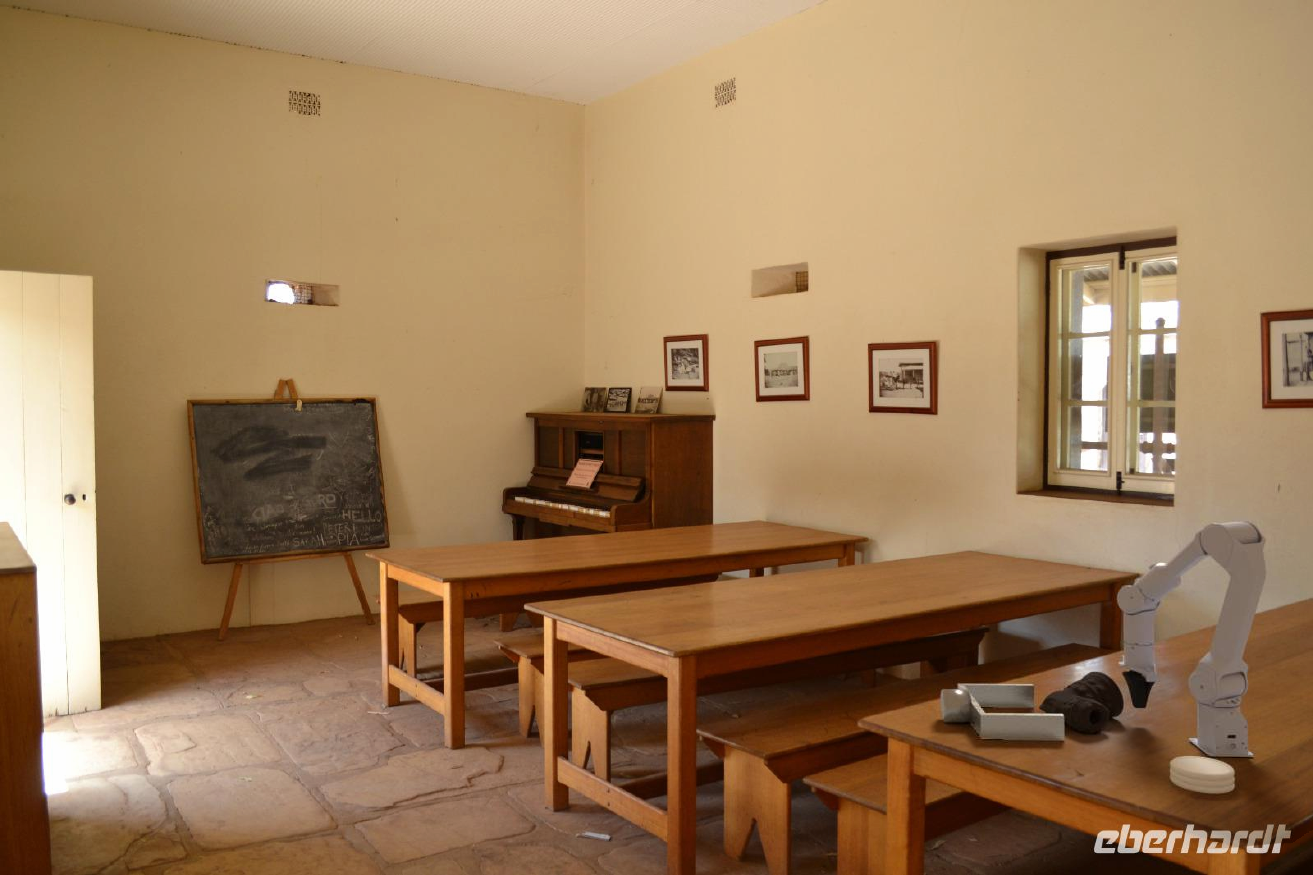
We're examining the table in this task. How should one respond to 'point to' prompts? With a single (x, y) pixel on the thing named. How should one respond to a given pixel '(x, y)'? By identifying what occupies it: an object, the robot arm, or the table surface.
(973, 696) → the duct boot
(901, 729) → the table surface
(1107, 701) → the pipe
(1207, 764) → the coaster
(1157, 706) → the table surface
